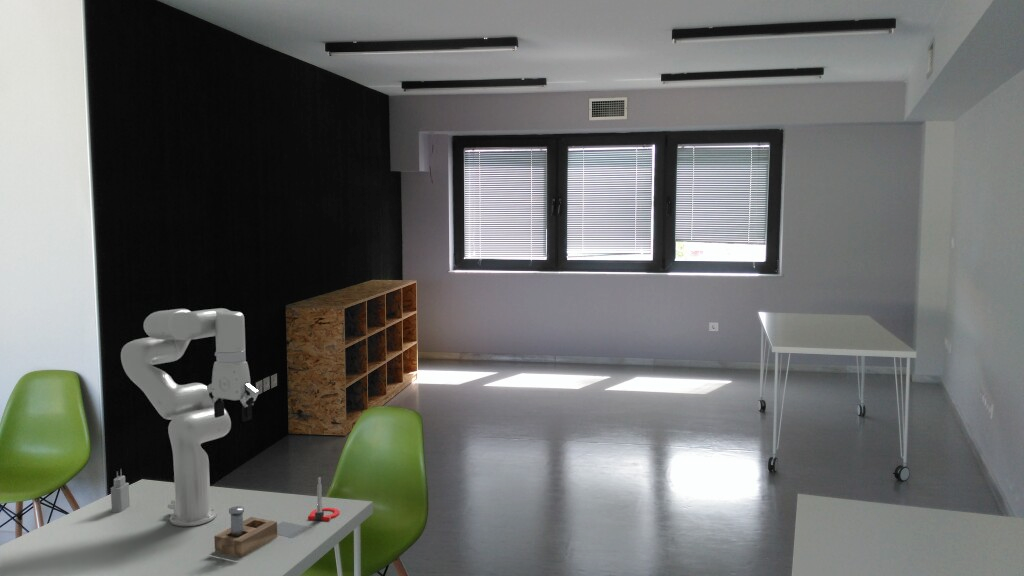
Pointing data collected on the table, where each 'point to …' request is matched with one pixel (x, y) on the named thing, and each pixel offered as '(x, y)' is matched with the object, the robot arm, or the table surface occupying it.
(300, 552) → the table surface
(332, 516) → the tow hook
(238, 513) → the pin
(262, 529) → the block
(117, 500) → the power adapter
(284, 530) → the mat
